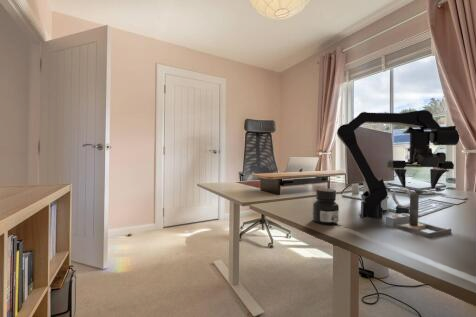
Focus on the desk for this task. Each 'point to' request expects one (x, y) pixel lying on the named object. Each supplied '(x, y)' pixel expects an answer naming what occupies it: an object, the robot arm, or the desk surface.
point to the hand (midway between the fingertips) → (418, 187)
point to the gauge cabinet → (398, 219)
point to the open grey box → (438, 232)
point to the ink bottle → (325, 207)
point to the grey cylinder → (414, 212)
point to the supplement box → (384, 202)
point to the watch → (400, 207)
